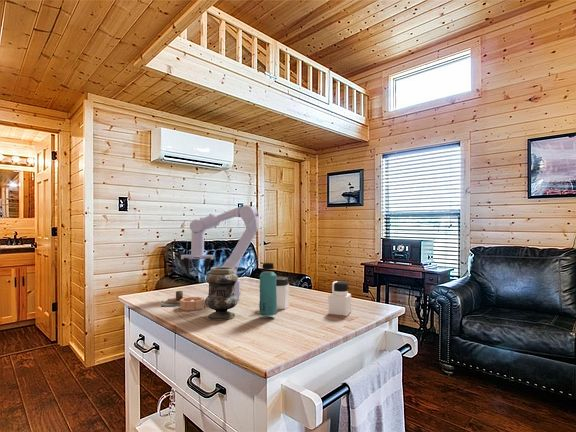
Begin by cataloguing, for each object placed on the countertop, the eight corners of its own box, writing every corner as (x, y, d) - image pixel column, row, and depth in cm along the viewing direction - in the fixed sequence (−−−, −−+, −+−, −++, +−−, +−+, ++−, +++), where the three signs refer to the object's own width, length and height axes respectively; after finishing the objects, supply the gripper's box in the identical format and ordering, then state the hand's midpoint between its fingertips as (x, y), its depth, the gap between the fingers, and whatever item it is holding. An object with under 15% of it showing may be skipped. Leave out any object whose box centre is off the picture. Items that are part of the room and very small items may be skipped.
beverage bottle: (279, 316, 122) (279, 262, 123) (272, 321, 116) (273, 264, 117) (263, 314, 125) (263, 261, 125) (256, 319, 118) (256, 263, 119)
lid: (192, 298, 147) (192, 289, 148) (189, 304, 138) (189, 293, 138) (169, 299, 146) (169, 289, 146) (165, 304, 136) (165, 294, 137)
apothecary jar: (244, 315, 124) (244, 266, 124) (223, 323, 113) (223, 270, 114) (219, 310, 130) (220, 264, 130) (197, 318, 119) (197, 268, 120)
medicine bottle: (351, 311, 129) (351, 280, 129) (346, 316, 123) (346, 283, 123) (333, 309, 132) (333, 279, 132) (328, 314, 126) (328, 282, 126)
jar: (293, 307, 135) (293, 278, 135) (277, 310, 130) (277, 280, 130) (279, 303, 142) (279, 275, 142) (264, 306, 137) (264, 277, 137)
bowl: (205, 304, 139) (205, 296, 139) (202, 310, 130) (202, 301, 130) (182, 305, 138) (182, 296, 138) (177, 311, 129) (178, 302, 129)
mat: (195, 299, 149) (195, 298, 149) (190, 306, 137) (190, 304, 137) (168, 300, 147) (168, 298, 148) (161, 306, 136) (161, 305, 136)
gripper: (179, 246, 149) (179, 276, 149) (212, 246, 151) (211, 276, 151) (183, 245, 156) (182, 273, 156) (214, 245, 158) (213, 273, 158)
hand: (196, 274), depth 154 cm, fingers open, 7 cm apart
